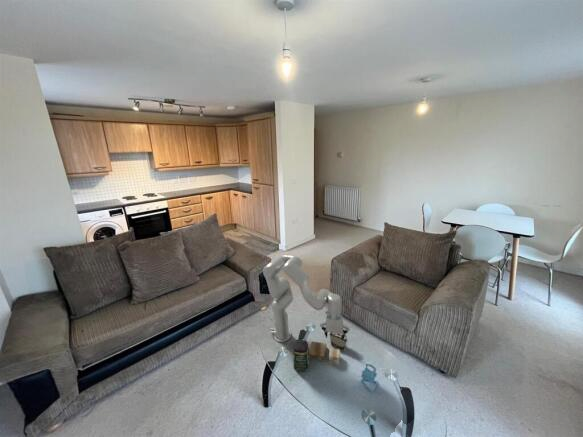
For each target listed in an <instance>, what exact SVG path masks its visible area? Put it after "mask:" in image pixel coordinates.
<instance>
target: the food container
mask: <svg viewBox="0 0 583 437" xmlns="http://www.w3.org/2000/svg"><path fill="white" fill-rule="evenodd" d="M328 336H329V339H330V346H331V347H333V348H335V349H339V350H340V351H343V352H345V351H346V346H347V342H348V336H347V333H346V334H345V338H343V340H342V333H341V334H340V333H333V332H329V335H328Z"/></svg>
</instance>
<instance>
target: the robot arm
mask: <svg viewBox="0 0 583 437" xmlns="http://www.w3.org/2000/svg"><path fill="white" fill-rule="evenodd" d="M303 265H304V264H303V260H302V259H301V258H300V257H299V256H295V255H285V254H283V255H278V256H277V257H275V258H274V259H273V260H271V261H270V262H269V263H268V264H266V265H265V266H264V267H263V269H262V273H263V276H264V278H265V280H266V283H267V284H266V285H267V287H268V291H269V294H270V296H271V297H272V298H273V301H272V302H271V305H270V306H271V310H272V314H273V320H274V328H273V327H270V328H269V330H270V334H273V338H274V341H276V342H277V343H286V342H288V341H289V340H290V339H291V338H290V337H292V332H291V330H290V329H289V316H288V313H287V311H286V309H287V308H288V307H289V306H290V305H291V303H293V301H294V295H293V291H292V287H291V284H290V281H289V280H288V279H287V278H285V277H283V276H281V277H280V276H279V275H278V274H279V273H280V272H281V271H283V273H284V274H285V275H286V276H287V277H288V278H289V279H291V281H293V282H294V283H295V284H296V285H297V286H298V287H299V290H300V293H301V295H302V297H303V299H304V301H305V302H306V303H307V304H308V305H309V306H311V308H313V309H314V310H315V311H321V310H323V309H324V307H325V306H326V305H327V311H325V314H326V318H325V322H321V323H320V324H319V326H320V328H321V330H323V332H324V336H325V338H326V339H327V338H328V336H329V335H328V333H331V332H333V333H340V334H341V333H342V340H343V338H345V334H346V335H347V334H348V333H349V331H350V329H351V328H350V327H348V326H347V325H346V324H344V318H343V315H342V297H341V296H340V295H339V294H337V293H333V292H331V291H330V290H328V289H326V288H321V289H320V290H319V291H318V292H317V293H316V295H314V294H313V293H312V292H311V290H310V287H309V281H310V276H309V275H308V274H307V272H305V271H304V270H303V269H301V268H302V267H303ZM289 338H290V339H289ZM288 339H289V340H288ZM287 340H288V341H287ZM285 341H286V342H285Z"/></svg>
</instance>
